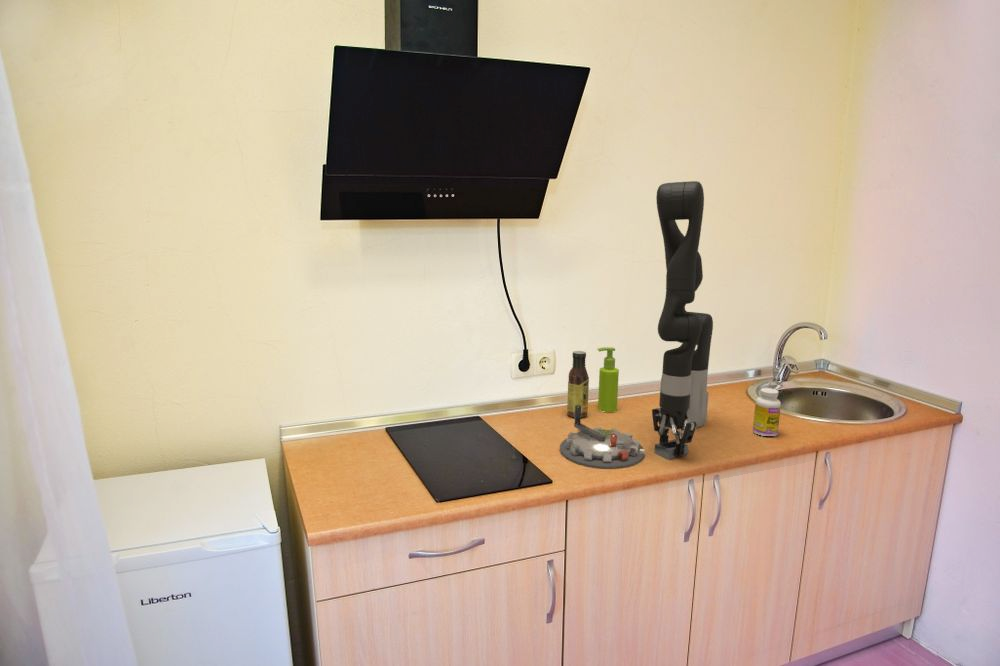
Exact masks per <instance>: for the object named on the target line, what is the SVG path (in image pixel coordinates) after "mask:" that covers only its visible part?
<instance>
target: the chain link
mask: <svg viewBox="0 0 1000 666" xmlns="http://www.w3.org/2000/svg"><path fill="white" fill-rule="evenodd" d="M689 446H690V445H688V444H687V443H686V444H685V448H684V455H683V456H688V455H689ZM675 447H676V438H675V439H670V440H668V441H666V442H661V443H655V444H654V454H656V455H658V456H660V457H662V458H663V459H666V460H668V461H669V460H674V459H677V458H678V457H676V456H675V450H676V449H675ZM683 456H682V457H683Z"/></svg>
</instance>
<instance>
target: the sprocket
mask: <svg viewBox="0 0 1000 666" xmlns="http://www.w3.org/2000/svg"><path fill="white" fill-rule="evenodd" d="M581 419H582V418H581V406H580V405H576V406H575V418H574V423H573V427H574V428H576V429H577V432H573V431H571V432H570V433H568V434H567V438H565V439H566V448H569V449H571V453H572V454H573V455H579V454H580V455H582V456H584V459H587V460H591V461H592V460H593V459H602V460H603V462H611V460H612V459H620V460H621V461H624V460H628V457H629V455H632V456H636V455H637V454H638V447H639V444H640V441H639V439H638V438H637V439H636V438H633V434H631V433H629V432H625V433H622V432H619V431H620V430H619V429H615V428H610V430H609V429H602V427H599V426H596V427H593V428H591V427H588V426H587V425H585V424H583V423H582V421H581Z"/></svg>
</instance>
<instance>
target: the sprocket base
mask: <svg viewBox="0 0 1000 666" xmlns="http://www.w3.org/2000/svg"><path fill="white" fill-rule="evenodd" d="M645 450H646V449H644V448H643V445H642V444H640V443H639V447H638V454H637V455H636V456H632V455H629V457H628V460H624V461H621V460H620V459H612V460H611V462H603V460H602V459H593V460H592V461H591V460H587V459H584V456H582V455H580V454H579V455H573V454H572V453H571V449H569V448H566V438H565V439H564V440H562V441H561V443H560V445H559V451H560V454H561V456H562V457H564V458H565V459H566V460H568V461H570V462H572V463H573V464H574V463H575V464H577V465H580V466H584V467H588V468H593V469H608V470H610V469H611V470H614V469H615V470H616V469H623V468H629V467H633V466H635V465H637V464H639V463H641V462H642V461H643V460H644V458H645V452H646V451H645Z"/></svg>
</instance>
